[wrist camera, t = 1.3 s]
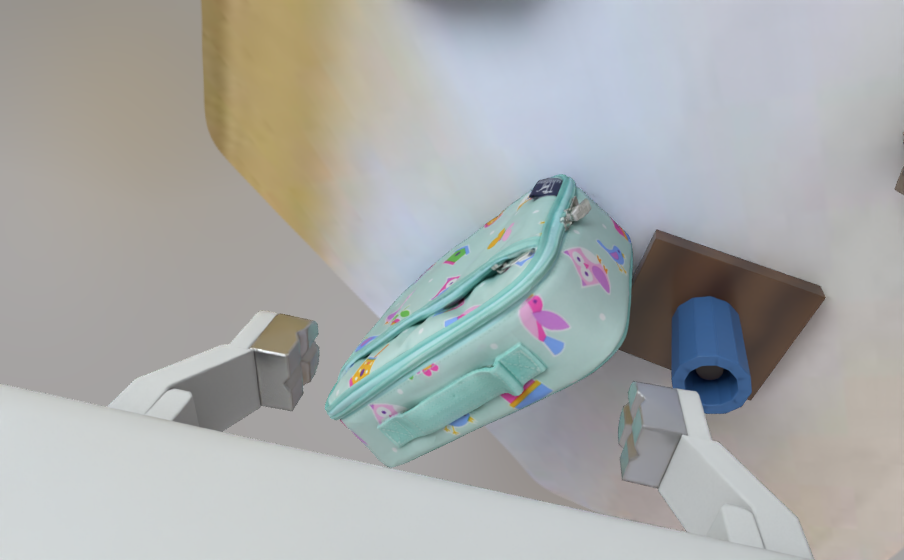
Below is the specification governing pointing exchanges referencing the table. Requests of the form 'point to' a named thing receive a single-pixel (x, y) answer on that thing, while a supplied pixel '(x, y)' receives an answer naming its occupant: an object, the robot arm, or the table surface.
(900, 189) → the toy character
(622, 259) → the lunch box
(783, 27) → the table surface
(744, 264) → the platform
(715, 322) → the blue faceted hollow tube
